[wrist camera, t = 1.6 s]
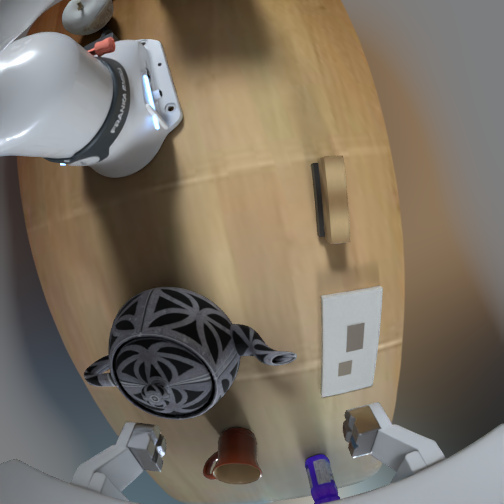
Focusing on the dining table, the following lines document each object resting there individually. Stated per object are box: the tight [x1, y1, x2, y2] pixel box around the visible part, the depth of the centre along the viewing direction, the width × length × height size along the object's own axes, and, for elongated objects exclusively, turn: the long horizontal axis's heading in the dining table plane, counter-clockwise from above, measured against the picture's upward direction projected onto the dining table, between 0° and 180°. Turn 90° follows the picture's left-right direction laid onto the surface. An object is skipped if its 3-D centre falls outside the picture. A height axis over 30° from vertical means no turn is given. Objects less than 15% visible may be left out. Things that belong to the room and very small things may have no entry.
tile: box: [321, 286, 383, 397], centre depth 42 cm, size 20×10×1 cm, turn 7°
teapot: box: [84, 287, 297, 419], centre depth 33 cm, size 19×31×15 cm, turn 105°
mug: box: [203, 427, 262, 484], centre depth 41 cm, size 12×9×10 cm
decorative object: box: [62, 0, 113, 35], centre depth 24 cm, size 9×9×10 cm
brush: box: [311, 156, 350, 244], centre depth 35 cm, size 11×4×4 cm, turn 7°
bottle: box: [305, 454, 340, 504], centre depth 41 cm, size 7×6×17 cm
